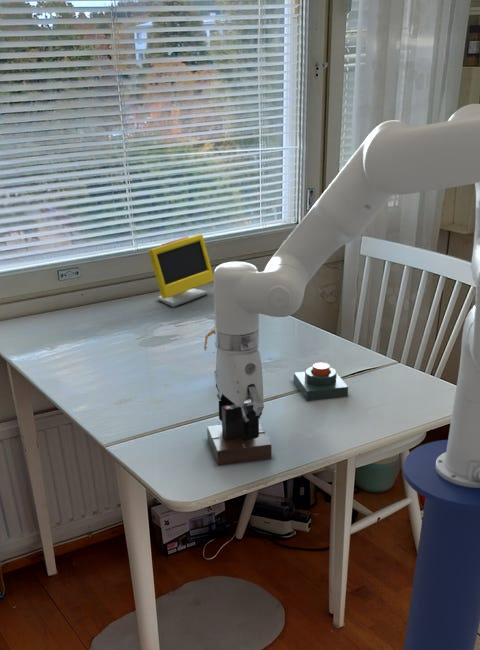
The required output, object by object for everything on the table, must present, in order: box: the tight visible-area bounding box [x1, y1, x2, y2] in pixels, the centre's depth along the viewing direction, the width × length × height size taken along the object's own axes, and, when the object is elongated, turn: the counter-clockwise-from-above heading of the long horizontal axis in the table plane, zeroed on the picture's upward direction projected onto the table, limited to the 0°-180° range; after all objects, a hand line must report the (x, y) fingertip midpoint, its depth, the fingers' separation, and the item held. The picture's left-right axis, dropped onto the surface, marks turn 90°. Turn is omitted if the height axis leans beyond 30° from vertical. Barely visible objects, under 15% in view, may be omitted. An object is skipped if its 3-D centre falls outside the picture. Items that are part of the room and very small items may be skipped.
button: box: [312, 362, 331, 376], centre depth 166 cm, size 4×4×2 cm
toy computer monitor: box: [148, 233, 214, 308], centre depth 215 cm, size 20×8×16 cm, turn 140°
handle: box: [221, 400, 253, 440], centre depth 143 cm, size 6×2×6 cm, turn 118°
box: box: [293, 365, 349, 402], centre depth 167 cm, size 10×9×4 cm
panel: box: [206, 422, 272, 466], centre depth 146 cm, size 10×10×3 cm
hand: (238, 428), depth 144 cm, fingers open, 8 cm apart
